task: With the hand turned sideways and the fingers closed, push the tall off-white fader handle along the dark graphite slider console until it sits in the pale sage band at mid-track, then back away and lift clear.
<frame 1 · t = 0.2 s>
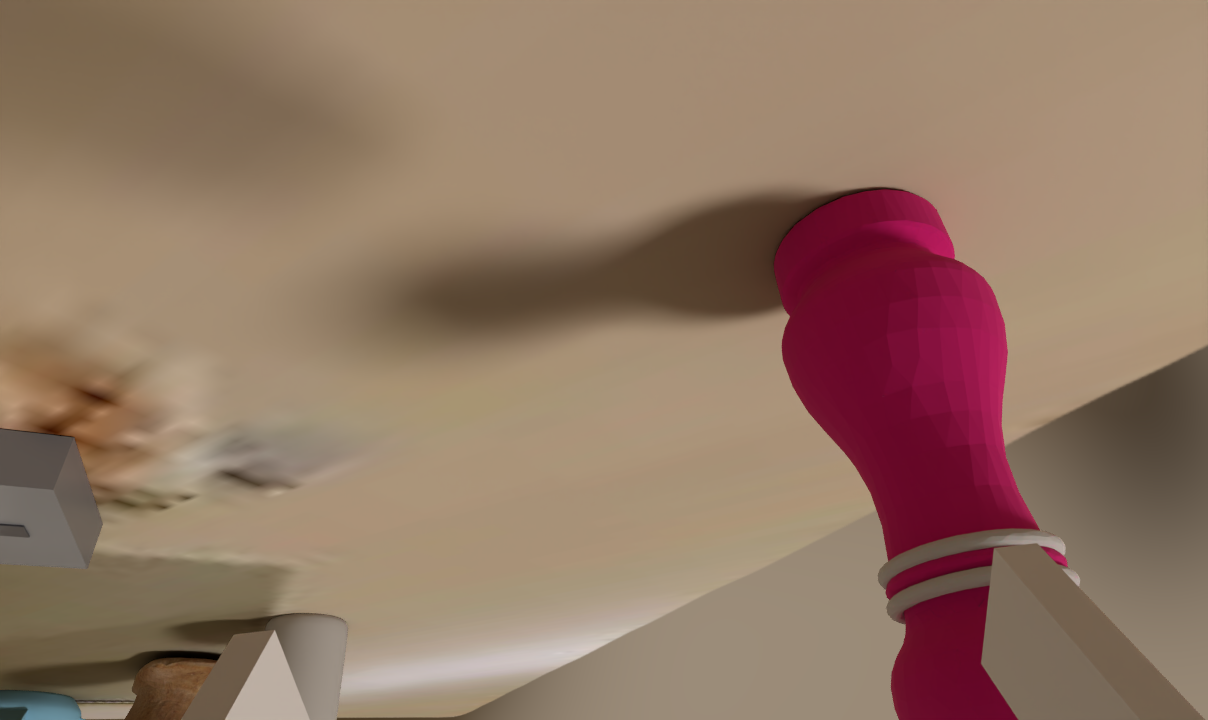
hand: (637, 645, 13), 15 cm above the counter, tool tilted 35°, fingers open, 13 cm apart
cup: (293, 619, 65), on the counter
brown boot: (182, 662, 76), on the counter
pepper mill: (852, 244, 27), on the counter
teapot: (18, 696, 84), on the counter
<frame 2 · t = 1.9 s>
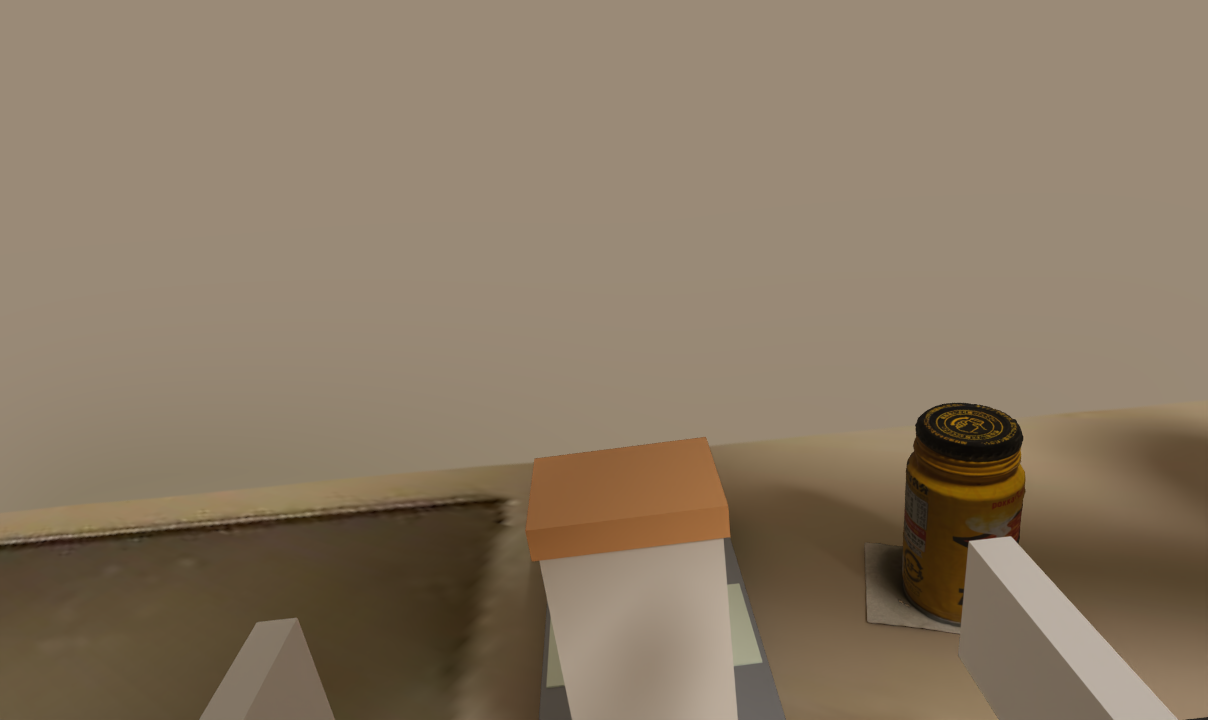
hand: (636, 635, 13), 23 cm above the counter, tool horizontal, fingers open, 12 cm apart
fader: (647, 657, 27), point 11 cm above the counter, slide at 0.0 cm
condiment: (938, 592, 44), on the counter
console: (655, 683, 40), on the counter
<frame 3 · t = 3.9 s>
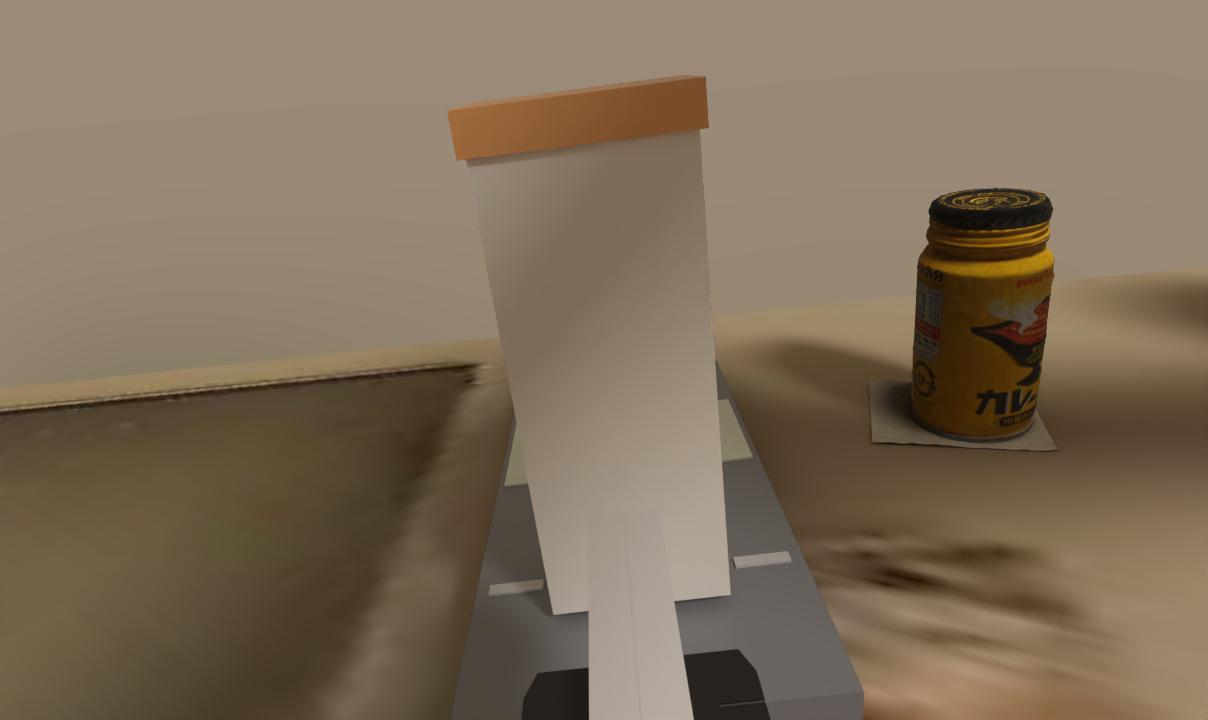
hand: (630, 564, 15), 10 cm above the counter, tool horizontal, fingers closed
fader: (611, 361, 22), point 11 cm above the counter, slide at 0.0 cm
condiment: (951, 418, 39), on the counter
console: (632, 499, 35), on the counter
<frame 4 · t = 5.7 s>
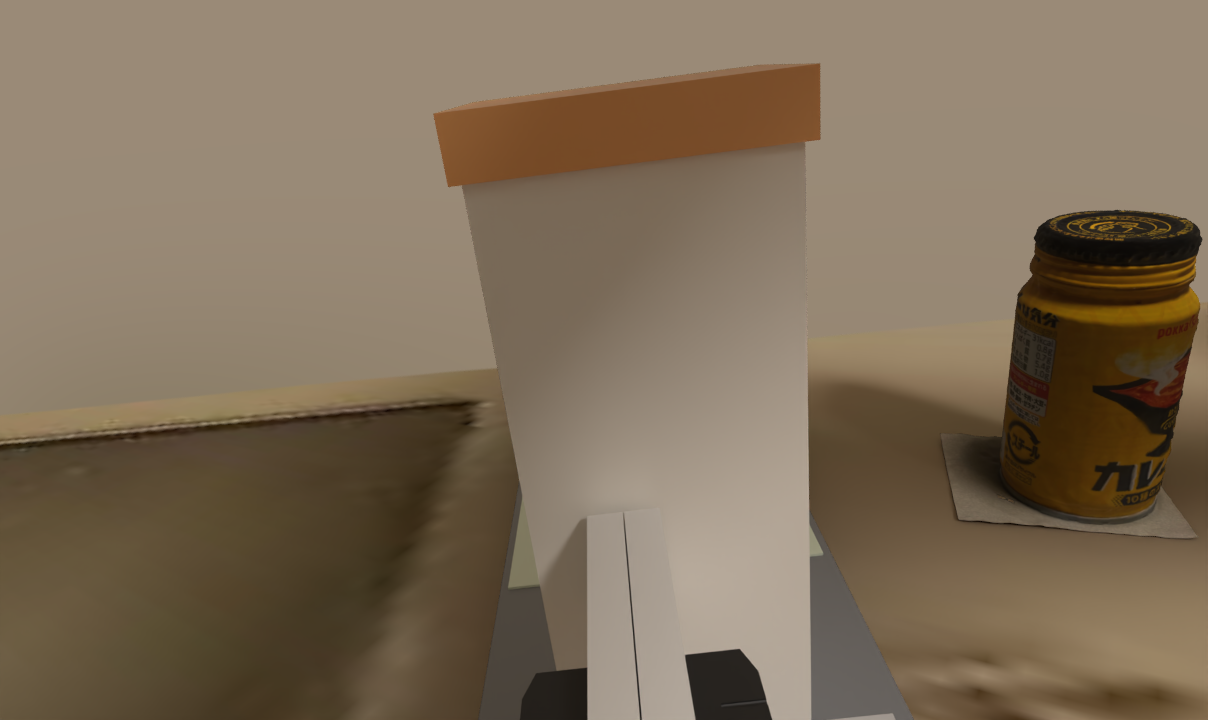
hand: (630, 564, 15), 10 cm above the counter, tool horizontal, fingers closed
fader: (658, 449, 17), point 11 cm above the counter, slide at 1.1 cm, touching gripper
condiment: (1050, 487, 32), on the counter
console: (666, 595, 28), on the counter
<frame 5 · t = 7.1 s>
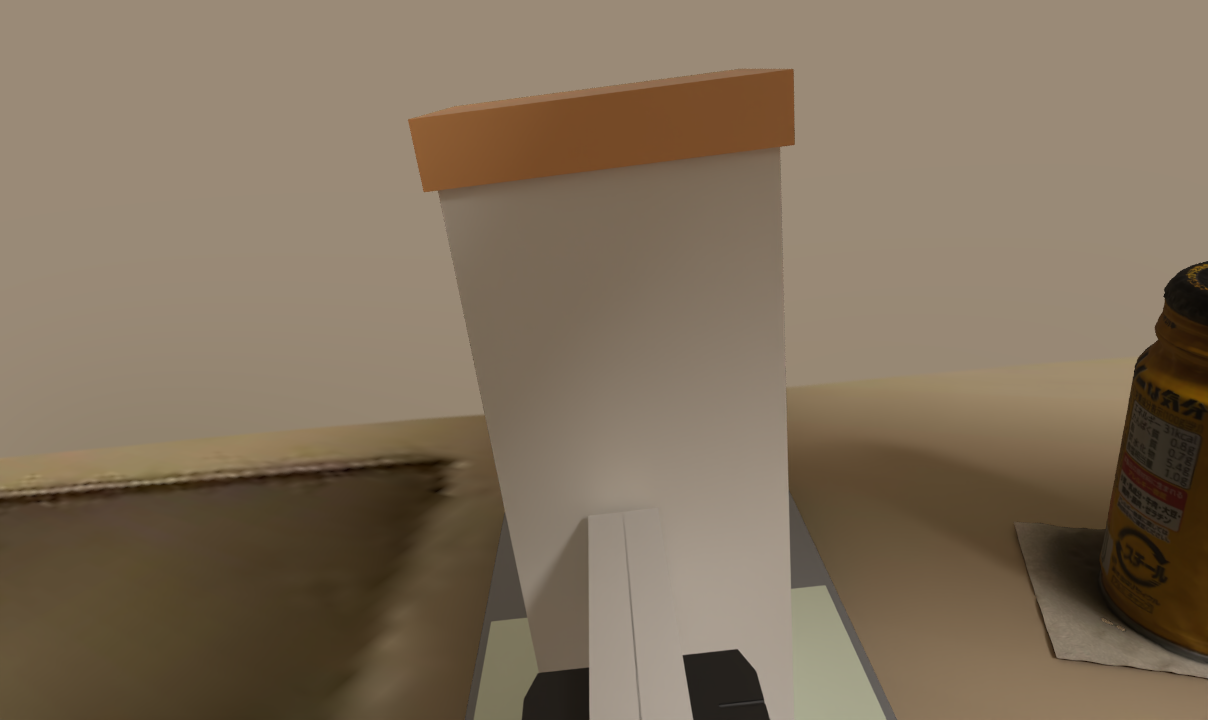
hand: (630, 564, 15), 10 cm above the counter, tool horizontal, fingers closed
fader: (640, 452, 17), point 11 cm above the counter, slide at 8.7 cm, touching gripper
condiment: (1166, 605, 25), on the counter
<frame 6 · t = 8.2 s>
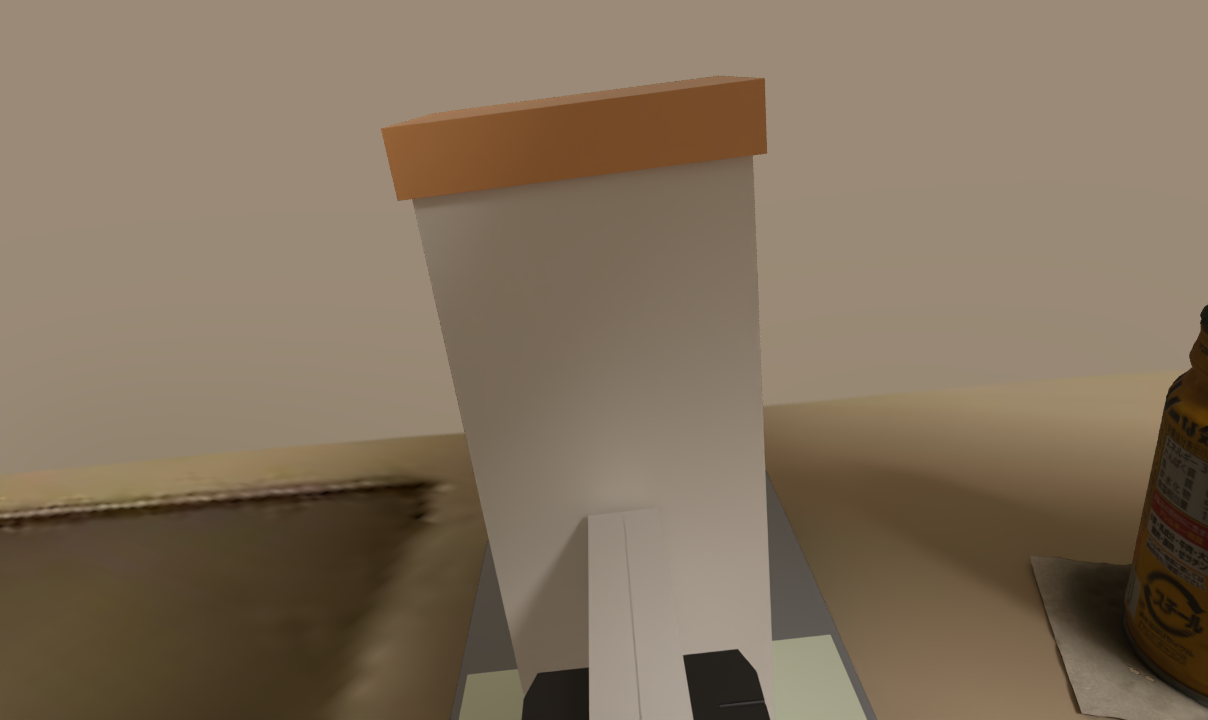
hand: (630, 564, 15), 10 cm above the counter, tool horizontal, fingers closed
fader: (620, 458, 17), point 11 cm above the counter, slide at 10.8 cm, touching gripper
condiment: (1197, 651, 23), on the counter
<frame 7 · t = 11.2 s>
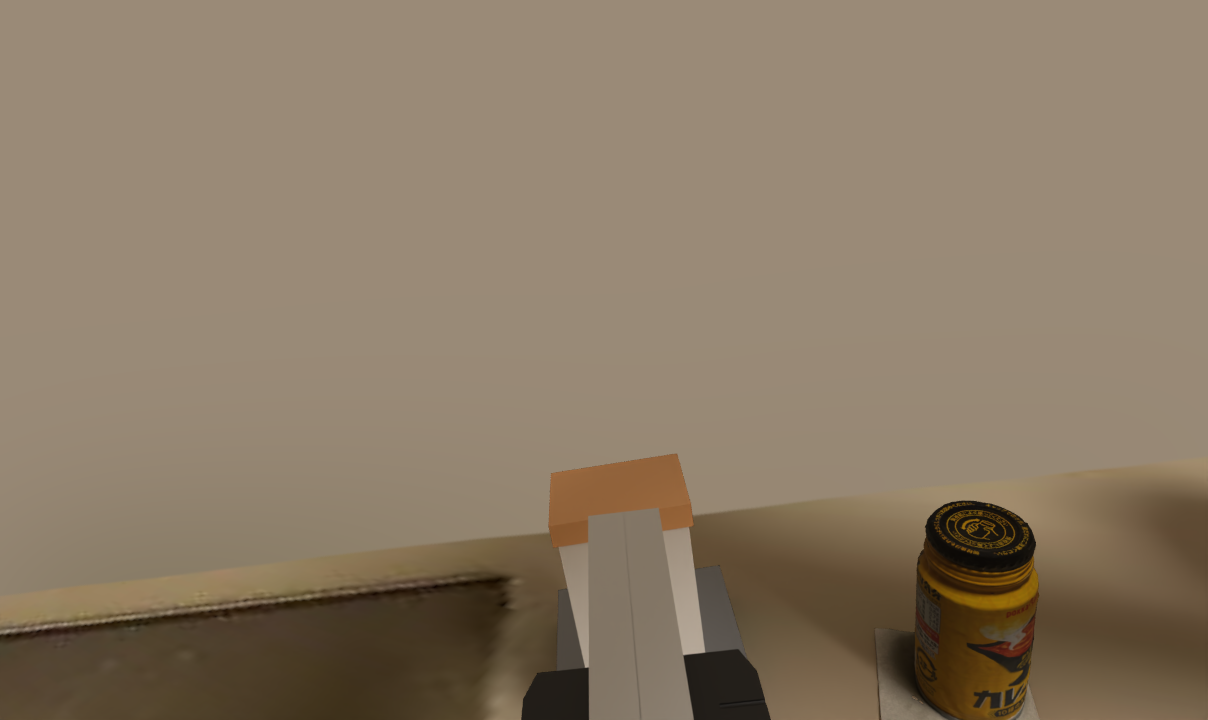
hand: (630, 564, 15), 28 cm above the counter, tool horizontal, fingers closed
fader: (639, 618, 36), point 11 cm above the counter, slide at 10.8 cm
condiment: (951, 685, 43), on the counter
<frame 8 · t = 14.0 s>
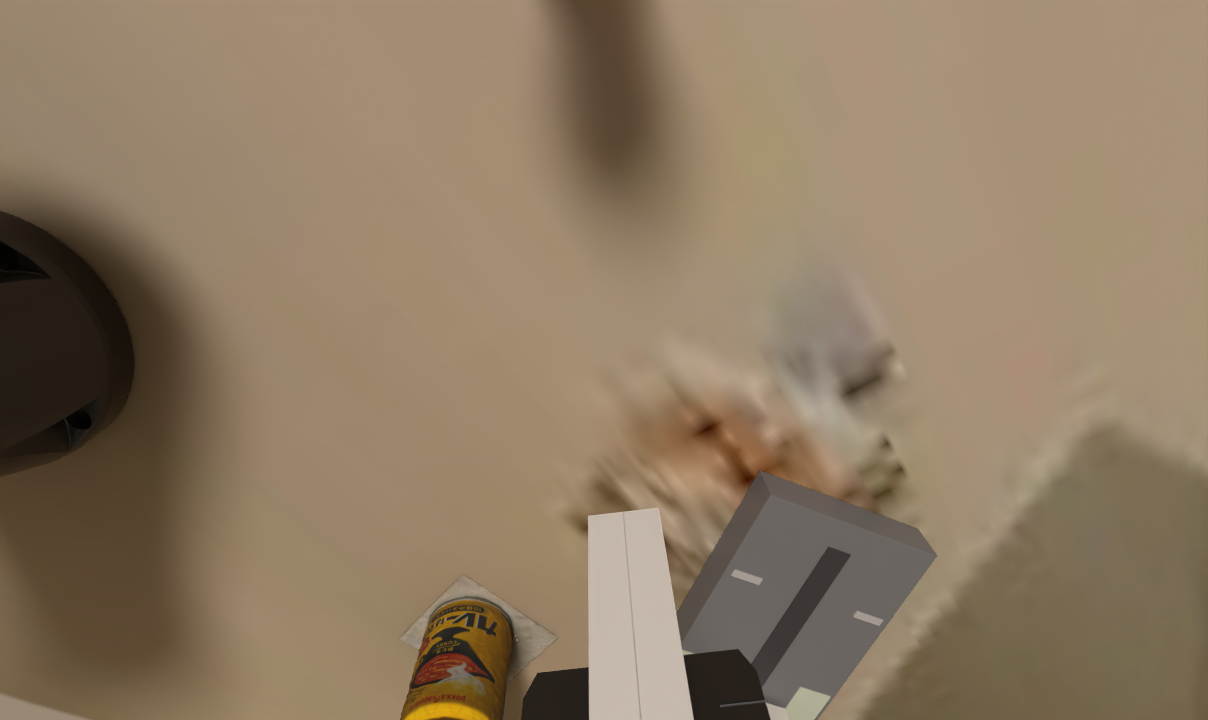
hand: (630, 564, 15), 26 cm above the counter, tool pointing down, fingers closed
condiment: (479, 633, 50), on the counter
console: (736, 662, 51), on the counter
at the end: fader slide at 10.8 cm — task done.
